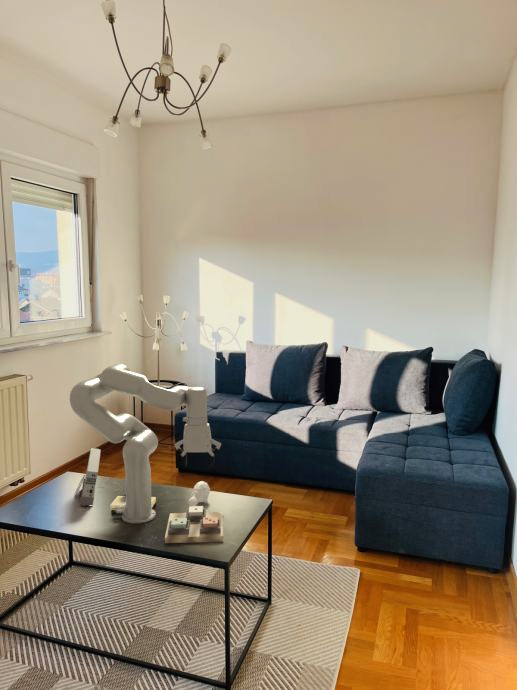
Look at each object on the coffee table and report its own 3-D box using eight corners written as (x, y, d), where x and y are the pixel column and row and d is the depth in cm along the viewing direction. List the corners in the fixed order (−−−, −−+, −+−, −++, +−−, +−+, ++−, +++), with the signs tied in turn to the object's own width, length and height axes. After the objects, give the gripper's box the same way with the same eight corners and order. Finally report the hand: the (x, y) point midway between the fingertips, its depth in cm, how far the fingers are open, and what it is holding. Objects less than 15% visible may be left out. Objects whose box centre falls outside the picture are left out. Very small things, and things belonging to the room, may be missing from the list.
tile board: (164, 543, 183) (164, 532, 183) (170, 518, 203) (169, 508, 203) (223, 541, 185) (223, 530, 184) (222, 516, 205) (222, 506, 204)
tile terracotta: (202, 529, 187) (202, 523, 187) (203, 522, 192) (203, 517, 192) (217, 528, 187) (217, 522, 187) (217, 522, 192) (217, 516, 192)
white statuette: (210, 480, 219) (196, 493, 208) (211, 499, 221) (198, 513, 210) (197, 478, 221) (182, 491, 210) (198, 497, 223) (183, 511, 212)
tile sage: (171, 530, 186) (171, 524, 186) (172, 523, 191) (172, 517, 191) (186, 529, 186) (186, 523, 186) (187, 523, 192) (186, 517, 191)
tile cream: (188, 517, 196) (188, 511, 196) (189, 511, 201) (189, 506, 201) (202, 517, 197) (202, 511, 197) (203, 511, 202) (203, 505, 202)
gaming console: (75, 489, 232) (84, 444, 231) (93, 491, 234) (102, 447, 233) (71, 510, 210) (81, 461, 209) (91, 512, 212) (100, 463, 211)
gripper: (171, 423, 193) (173, 469, 195) (219, 423, 193) (220, 469, 194) (175, 418, 201) (177, 462, 202) (221, 418, 200) (222, 462, 202)
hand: (198, 465), depth 198 cm, fingers open, 9 cm apart
